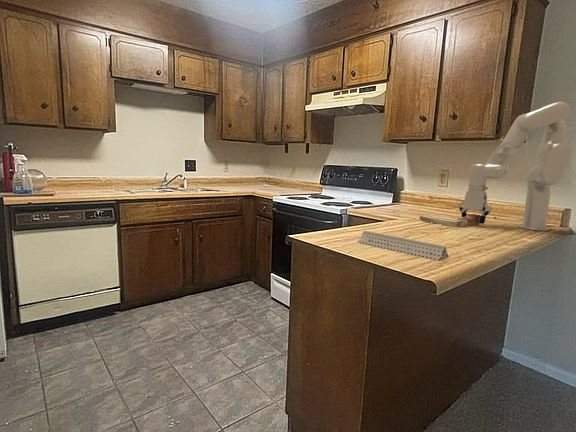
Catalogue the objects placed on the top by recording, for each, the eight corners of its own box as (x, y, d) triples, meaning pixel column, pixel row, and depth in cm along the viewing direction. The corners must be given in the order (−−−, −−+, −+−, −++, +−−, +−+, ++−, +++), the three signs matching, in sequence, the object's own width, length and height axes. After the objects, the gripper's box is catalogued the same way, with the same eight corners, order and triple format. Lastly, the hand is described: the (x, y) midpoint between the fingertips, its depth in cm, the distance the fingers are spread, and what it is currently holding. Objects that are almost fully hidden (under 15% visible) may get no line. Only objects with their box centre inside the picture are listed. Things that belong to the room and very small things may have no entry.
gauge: (471, 224, 185) (473, 214, 184) (479, 225, 182) (480, 215, 181) (454, 226, 177) (455, 215, 176) (462, 227, 174) (463, 216, 173)
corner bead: (356, 244, 133) (357, 231, 132) (369, 241, 139) (370, 229, 138) (437, 263, 110) (439, 247, 110) (449, 259, 116) (451, 244, 116)
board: (431, 219, 197) (431, 215, 197) (465, 225, 180) (465, 220, 180) (419, 220, 192) (420, 216, 191) (453, 226, 175) (454, 221, 175)
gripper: (498, 190, 174) (493, 224, 177) (464, 187, 189) (461, 218, 191) (489, 190, 170) (485, 225, 173) (456, 187, 185) (452, 219, 187)
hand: (472, 221), depth 182 cm, fingers open, 9 cm apart
